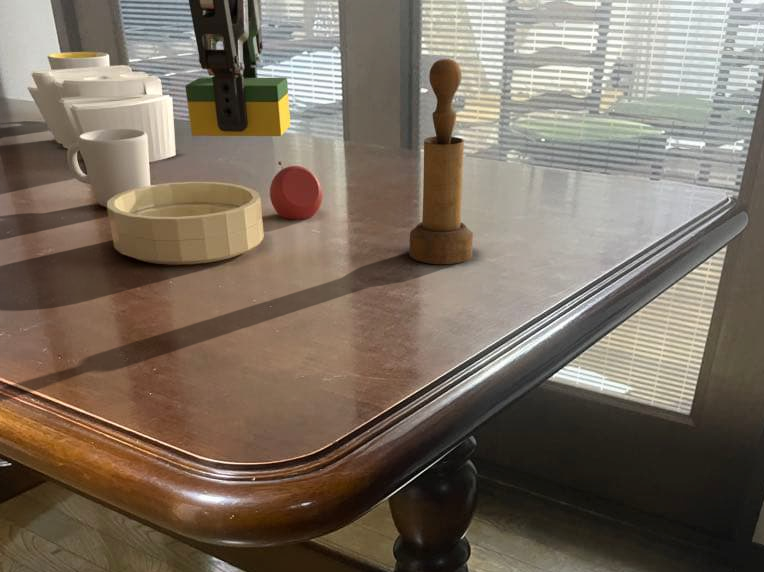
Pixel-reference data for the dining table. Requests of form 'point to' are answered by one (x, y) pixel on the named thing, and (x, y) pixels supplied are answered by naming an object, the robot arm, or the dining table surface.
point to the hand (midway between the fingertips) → (240, 123)
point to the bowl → (186, 222)
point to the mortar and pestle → (442, 180)
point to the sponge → (262, 105)
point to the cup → (111, 161)
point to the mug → (78, 60)
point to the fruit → (295, 193)
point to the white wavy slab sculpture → (105, 105)
